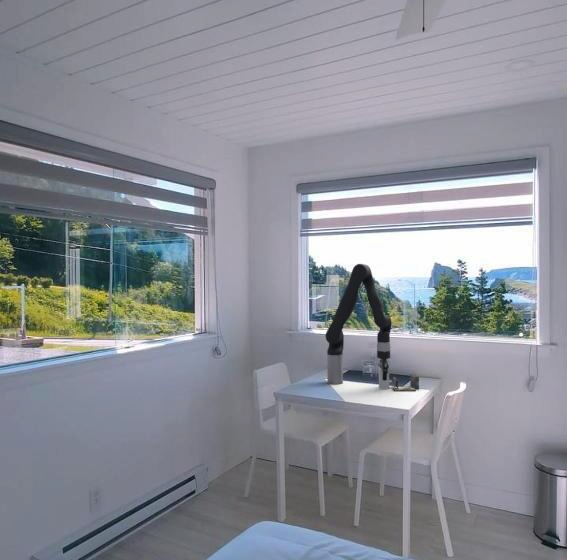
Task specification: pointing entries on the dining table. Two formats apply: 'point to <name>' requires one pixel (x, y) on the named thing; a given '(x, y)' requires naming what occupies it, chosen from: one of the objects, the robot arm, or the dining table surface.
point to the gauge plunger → (395, 382)
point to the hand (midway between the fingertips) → (383, 379)
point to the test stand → (413, 383)
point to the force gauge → (383, 383)
